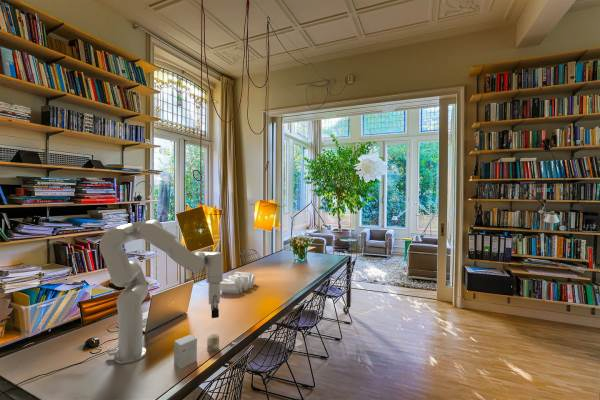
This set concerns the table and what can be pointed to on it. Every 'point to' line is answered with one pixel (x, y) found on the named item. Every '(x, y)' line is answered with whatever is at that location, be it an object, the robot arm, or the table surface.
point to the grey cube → (213, 343)
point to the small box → (185, 351)
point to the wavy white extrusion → (237, 283)
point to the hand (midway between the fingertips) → (214, 313)
